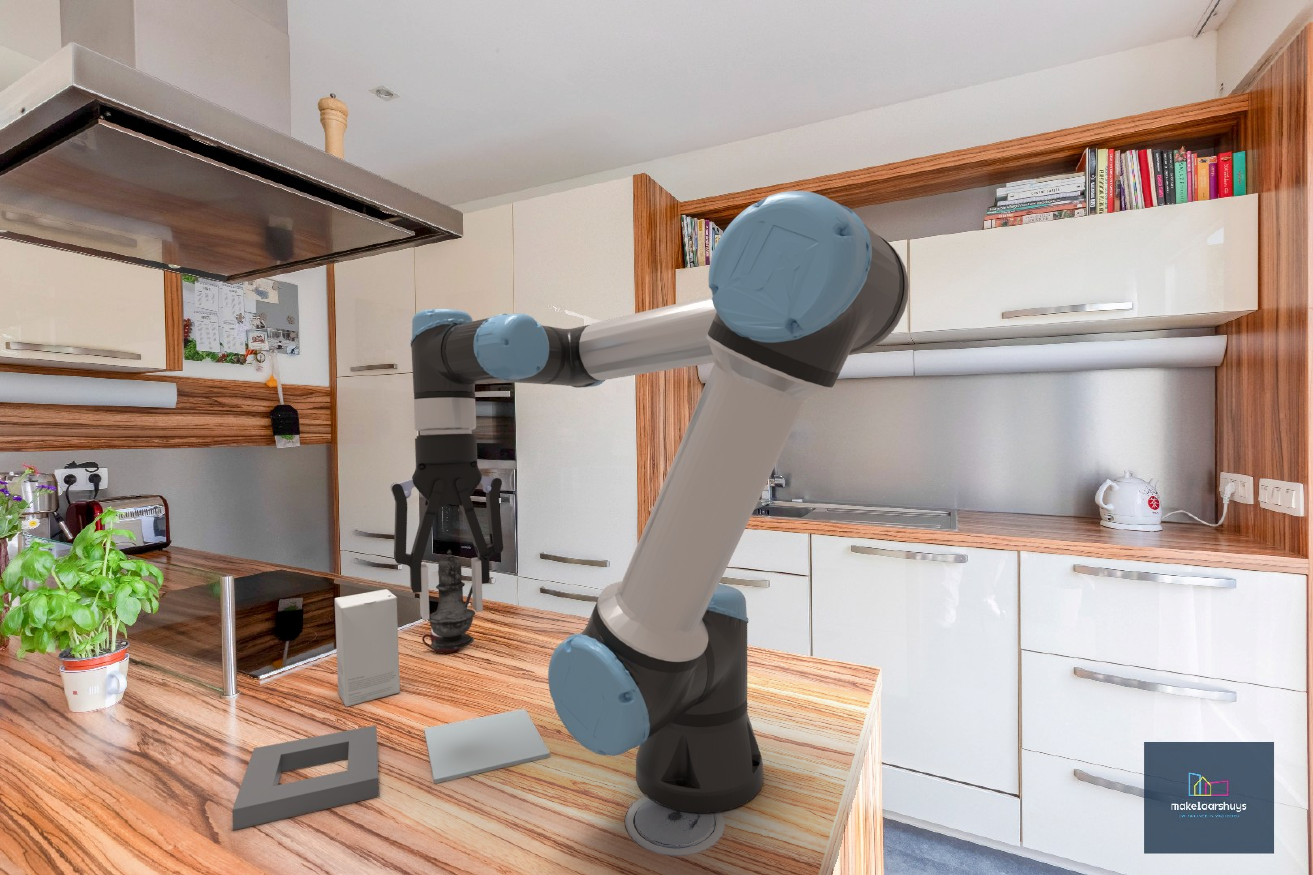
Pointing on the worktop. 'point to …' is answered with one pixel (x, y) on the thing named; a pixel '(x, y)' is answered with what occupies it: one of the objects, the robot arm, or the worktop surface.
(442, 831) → the worktop surface
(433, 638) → the cocoa
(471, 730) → the mat
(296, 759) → the grey square frame
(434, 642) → the salt shaker
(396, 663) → the skincare box
